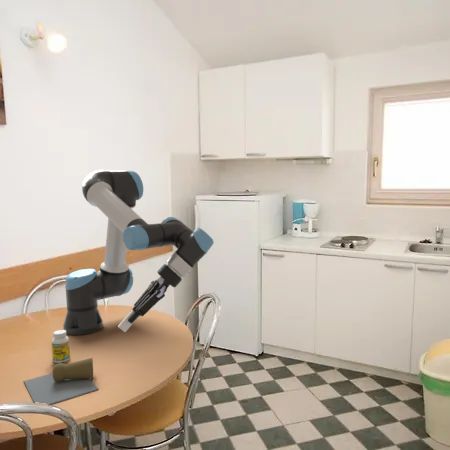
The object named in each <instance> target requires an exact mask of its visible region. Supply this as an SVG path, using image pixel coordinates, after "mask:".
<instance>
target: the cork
mask: <svg viewBox="0 0 450 450" xmlns="http://www.w3.org/2000/svg"><path fill="white" fill-rule="evenodd" d="M52 373H53V379H54V381H55V382H61V381H63V380H65V379H90V380H93V379H94V361H93V357H90V358H86V359H85V358H84V359H81V360H78V361H74V362H70V363H67V364H65V363H64V362H62V363H56V364H55V365H54V366H53V369H52Z"/></svg>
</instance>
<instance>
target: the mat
mask: <svg viewBox="0 0 450 450" xmlns="http://www.w3.org/2000/svg"><path fill="white" fill-rule="evenodd" d="M23 383H24V385H25V387H26V389H27V391H28V393H29V395H30V397H31V399H32V401H33V403H34V402H39V403H46V404H51V405H53V404H57V403H61V402H64V401H67V400H71V399H73V398H76V397H80V396H83V395H85V394H90V393H92V392H95V391H98V390H99V388H98V387H97V385H96V384H95V383H94V382H93V380H92V379H65V380H63V381H61V382H55V381H54V379H53V372H52V373H48V374H45V375H41V376H38V377H33V378H30V379H26V380H23Z"/></svg>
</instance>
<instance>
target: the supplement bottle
mask: <svg viewBox="0 0 450 450" xmlns="http://www.w3.org/2000/svg"><path fill="white" fill-rule="evenodd" d="M52 335H53V338H52V339H51V355H52V362H54V363H56V364H59V363H65V362H68V361H69V360H70V359H71V350H70V348H71V347H70V338H69V336H67V334H66V330H63V329H60V330H55V331H53V334H52Z"/></svg>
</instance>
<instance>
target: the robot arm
mask: <svg viewBox="0 0 450 450" xmlns="http://www.w3.org/2000/svg"><path fill="white" fill-rule="evenodd" d="M81 185H82V187H81V190H82V195H83V198H84V199H85V200H86V201H87V203H89V204H90V206H93V207H97V208H98V209H99V210H100V211H101V213H103V214H104V215H105V217H107V228H106V239H105V241H106V242H105V251H104V261H103V262H101V264H100V266H99V270H98V271H97V270H96V269H94V268H86V269H85V268H84V269H83V268H82V269H79V270H76V271H73V272H71V273H69V274H68V275H66V278H65V286H64V288H65V298H66V314H65V318H64V321H63V326H62V327H63V329H62V330H66V335H72V336H81V335H88V334H89V335H90V334H93V333H96V332H98V331H101V330H102V329H103V327H104V321H103V318H102V315H101V313H100V309H99V308H98V301H100V300H105V299H109V298H114V297H119V296H122V295H126V294H128V293H130V291H131V289H132V288H133V284H134V276H133V271H132V269H130V265H128V264H127V262H126V261H127V254H128V250H130V251H143V250H148V249H155V248H162V247H168V246H174V248H176V250H175V251H174V253H172V254H171V256H170V257H169V258H168V259H167V260H166V263H164V264H163V265H161V267H160V268H159V269H158V270H157V274H158V275H159V277H158V278H157V279H155V280H152V281H151V282H150V284H149V285H148V287H147V288H146V289H145V291H144V292H143V293H142V294H141V296H140V297H139V298H138V299H137V301H136V302H135V303H134V304H133V308H132V309H131V311H129V313H128V314H127V315H126V316H125V317H124V318H123V320H122V321H120V323H119V324H118V325H117V327H118V329H120V330H121V331H123V333H126V332H127V331H128V330H129V329H130V328H131V327H132V326H133V325H134V323H135V322H136V321H137V320H138V319H139V318H140V317H145V315H146V314H147V313H148V312H149V311H150V310H151V309H152V308H153V307H154V306H155V305H156V304H157V303H159V301H161V300H162V299H163V298H164V297H165V296H166V295H165V293H166V292H167V291H168V288H169V286H171V287H173V288H176V287H177V286H178V285H179V284H180V283H181V282H182V280H183V278H184V277H186V276H187V275H188V274H191V273H192V272H191V270H192V268H194V266H196V264H198V263H199V262H200V260H201V259H202V258H203V257H204V256H205V255H207V253H208V252H209V250H210V249H211V248H212V246H213V245H214V239H213V238H212V237H211V236H210V235H209V234H208V233H207V232H206V231H205V230H203V229H202V228H200V227H197V228H195V229H194V230H192V229H191V228H190V227H189V226H188V225H186V224H185V223H184V222H182V221H181V220H180V219H177V218H176V217H174V216H169V217H166V218H165V219H163V220H162V222H161V223H148V222H146V221H145V220H144V219H143V218H142V217H141V216H140V215H139V214H137V212H135V210H134V208H136V204H137V201H139V200H141V198H142V197H143V196H144V184H143V180H142V177H141V176H140V175H139V174H138V173H137V172H136V171H133V170H126V169H124V170H123V169H120V170H119V169H116V170H114V169H113V170H112V169H109V170H107V169H105V170H104V169H99V170H95V171H93V172H90V173H89V174H88V175H87V176H86V177H85V178H84V180H83V182H82V184H81Z"/></svg>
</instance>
